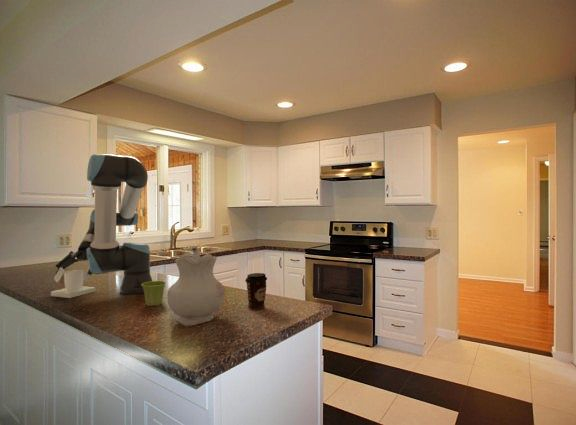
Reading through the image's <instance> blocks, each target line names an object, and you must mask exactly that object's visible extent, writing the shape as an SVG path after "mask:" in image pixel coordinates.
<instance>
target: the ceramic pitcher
mask: <svg viewBox="0 0 576 425" xmlns="http://www.w3.org/2000/svg"><path fill="white" fill-rule="evenodd" d="M191 250H192V255H191V254H190V253H184V254H181V255H179V258H175V260H174V262H175V264H176V267H177V268H178V274H179V277H178V279H177V280H176V281H175V282H174V283H172V285H171V286H170V287H169V288H168V290H167V292H166V293H167V295H166V296H167V297H166V299H167V304H168V307H169V309H170V310H171V311H172V313H173V314H174V315H176V316H177V317H180V318H179V319H178V321H179V324H181V325H182V326H185V327H192V326H196V325H199V324H202V323H206V322H207V323H208V322H211V321H213V320H214V318H215V317H214V315H213V313H216V312H217V311H218V310H219V309H220V308H221V306H222V304H223V302H224V300H225V296H226V295H225V294H226V292H225V290H226V288H225V286H224V284H222V282H221V281H219V280H218V279H216V278H215V275H214V267H215V264H216V263H217V262H216V261H217V256H216V255H215V256H213V255H212V254H210V253H206V254H205V255H203V256H201V255H200V254H201V253H200V250H199V248H198V247H196V246H192V248H191Z"/></svg>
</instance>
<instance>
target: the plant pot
mask: <svg viewBox="0 0 576 425" xmlns="http://www.w3.org/2000/svg"><path fill="white" fill-rule="evenodd" d="M166 285H167V282H166V281H163V280H156V281H155V280H152V281H151V282H146V283H143V284H142V286H143V289H144V293H143V294H144V300H145V301H144V302H145V306H147V307H152V306H155V307H158V306H160V305H162V303H163V299H164V298H163V297H164V290H165V286H166Z"/></svg>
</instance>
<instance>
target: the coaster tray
mask: <svg viewBox="0 0 576 425" xmlns="http://www.w3.org/2000/svg"><path fill="white" fill-rule="evenodd" d="M95 292H96V287H94V286H84V285H83V290H81V291H77V292H73V293H66V290H65V288H61V289H58V290H53V291H50V297H58V298H67V299H72V298H77V297H79V296H83V295H87V294H91V293H95Z"/></svg>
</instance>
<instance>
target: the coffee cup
mask: <svg viewBox="0 0 576 425" xmlns="http://www.w3.org/2000/svg"><path fill="white" fill-rule="evenodd" d="M267 280H268V277H267V276H266V273H263V272H262V273H261V272H254V273H249V274H247V277H246V278H245V280H244V281H245V283H246V289H247V300H248V306H247V307H248V309H249V310H252V311H258V310H262V309H264V308H265V301H266V295H267V294H266V292H267Z"/></svg>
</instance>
